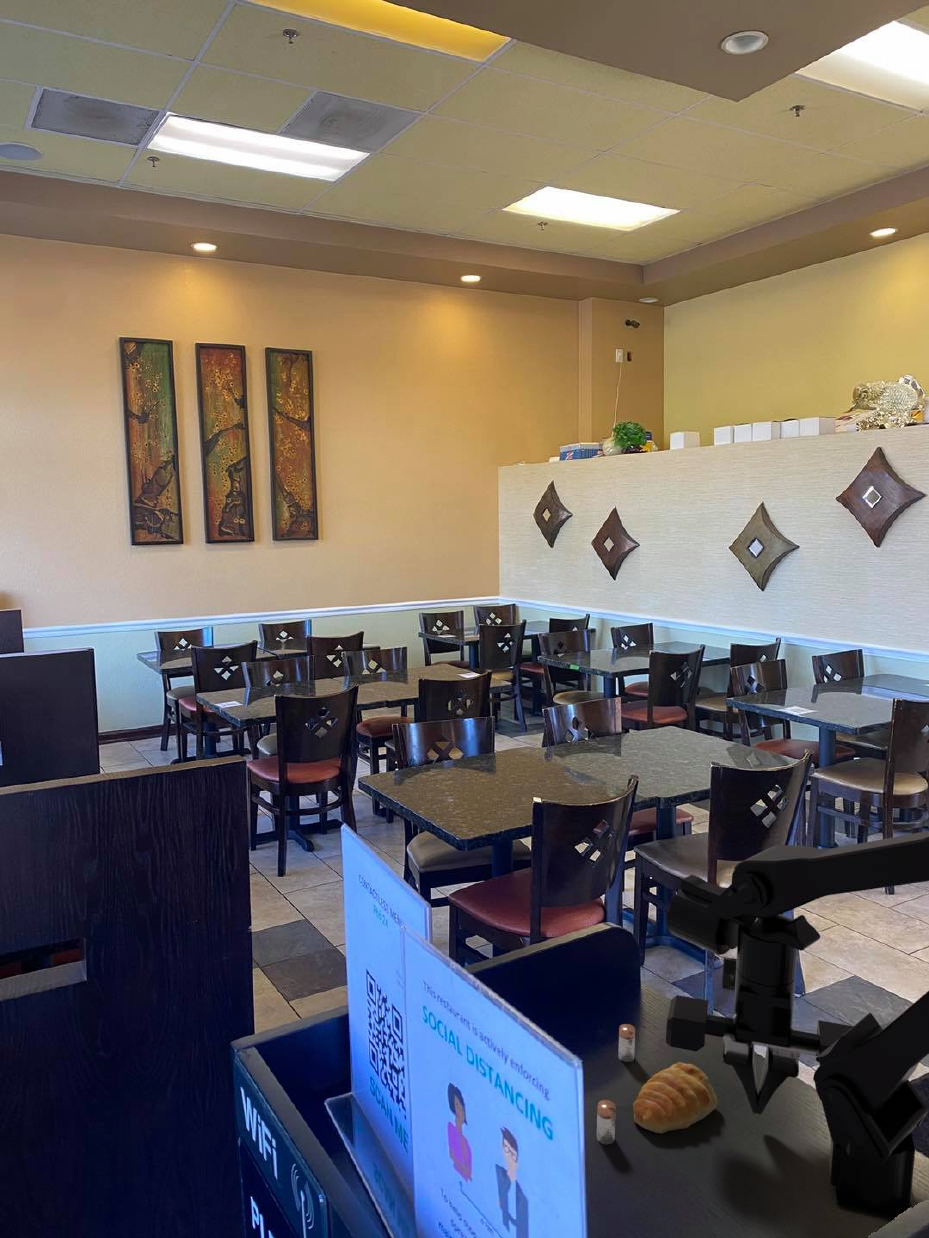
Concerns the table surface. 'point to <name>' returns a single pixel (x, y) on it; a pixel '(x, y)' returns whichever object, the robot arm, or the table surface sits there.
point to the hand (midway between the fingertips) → (756, 1111)
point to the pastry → (674, 1099)
